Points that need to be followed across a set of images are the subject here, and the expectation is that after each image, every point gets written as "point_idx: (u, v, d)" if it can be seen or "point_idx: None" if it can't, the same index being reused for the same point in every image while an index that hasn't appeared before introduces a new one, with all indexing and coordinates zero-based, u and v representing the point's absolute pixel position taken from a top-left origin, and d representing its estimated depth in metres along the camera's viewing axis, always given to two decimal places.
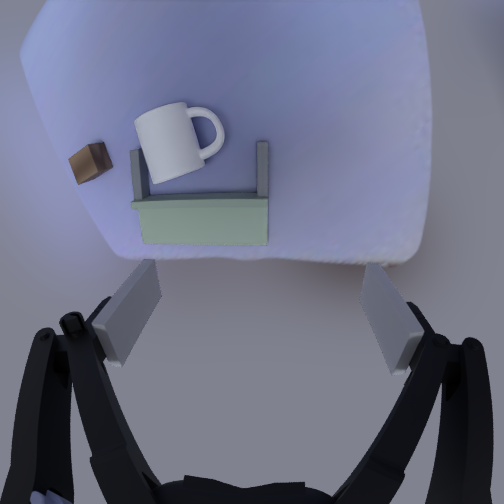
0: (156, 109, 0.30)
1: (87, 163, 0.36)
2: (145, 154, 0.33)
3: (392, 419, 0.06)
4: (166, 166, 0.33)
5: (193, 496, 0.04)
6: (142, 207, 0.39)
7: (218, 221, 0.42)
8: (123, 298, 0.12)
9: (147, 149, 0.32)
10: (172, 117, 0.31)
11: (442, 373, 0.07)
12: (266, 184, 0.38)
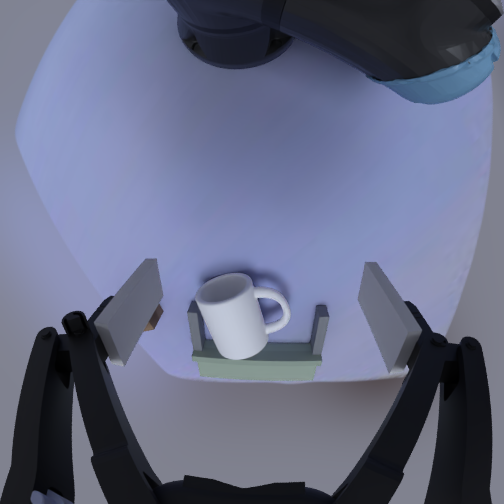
0: (226, 303, 0.32)
1: None
2: (212, 334, 0.36)
3: (390, 418, 0.06)
4: (238, 351, 0.35)
5: (193, 496, 0.04)
6: (204, 361, 0.41)
7: (273, 367, 0.44)
8: (125, 297, 0.12)
9: (216, 333, 0.35)
10: (243, 310, 0.34)
11: (440, 372, 0.08)
12: (321, 346, 0.41)
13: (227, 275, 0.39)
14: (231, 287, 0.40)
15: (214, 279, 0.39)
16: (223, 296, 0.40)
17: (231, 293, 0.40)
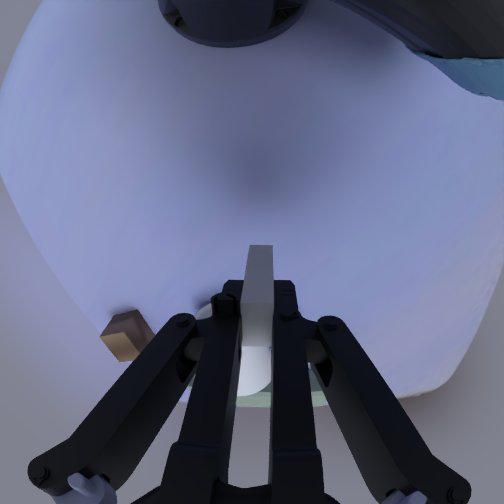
0: None
1: (128, 348, 0.32)
2: None
3: (273, 406, 0.07)
4: (240, 388, 0.29)
5: None
6: None
7: None
8: (258, 279, 0.14)
9: None
10: (245, 346, 0.27)
11: (304, 343, 0.10)
12: None
13: None
14: None
15: None
16: None
17: None
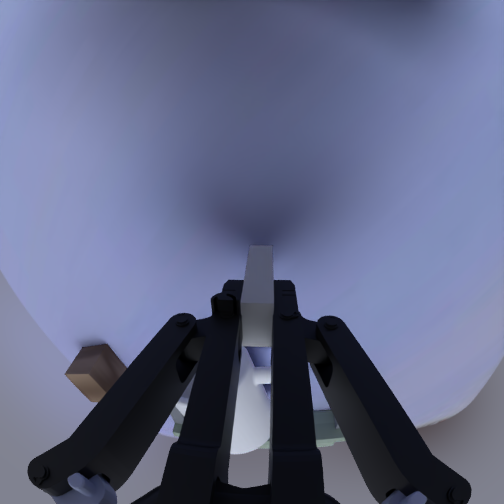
0: None
1: (97, 390, 0.23)
2: None
3: (273, 406, 0.07)
4: (231, 448, 0.20)
5: None
6: None
7: None
8: (258, 279, 0.14)
9: None
10: (235, 409, 0.18)
11: (304, 342, 0.10)
12: None
13: None
14: None
15: None
16: None
17: None
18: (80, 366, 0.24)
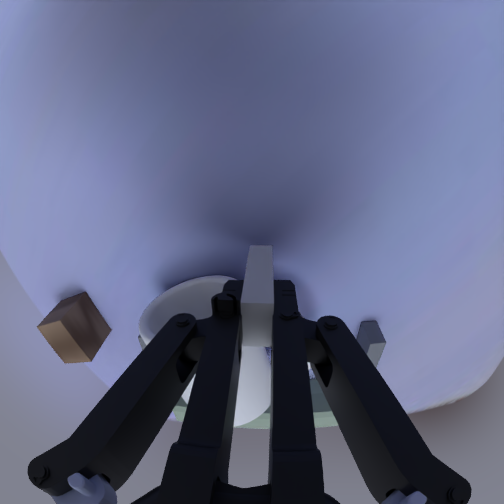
0: None
1: (69, 345, 0.20)
2: None
3: (273, 406, 0.07)
4: None
5: None
6: (176, 410, 0.23)
7: None
8: (258, 279, 0.14)
9: None
10: None
11: (304, 343, 0.10)
12: None
13: (202, 280, 0.21)
14: (210, 301, 0.21)
15: (179, 287, 0.21)
16: (197, 316, 0.22)
17: (211, 311, 0.22)
18: (54, 316, 0.20)
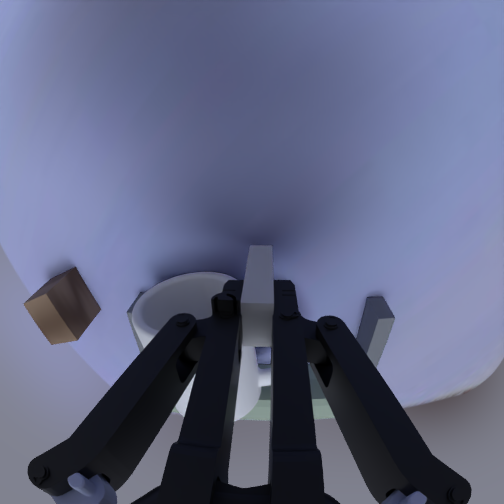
0: None
1: (55, 322, 0.19)
2: None
3: (273, 406, 0.07)
4: None
5: None
6: None
7: None
8: (258, 279, 0.14)
9: None
10: None
11: (304, 342, 0.10)
12: None
13: (200, 275, 0.21)
14: (205, 297, 0.21)
15: (175, 279, 0.20)
16: (189, 311, 0.22)
17: (204, 308, 0.22)
18: (41, 292, 0.19)
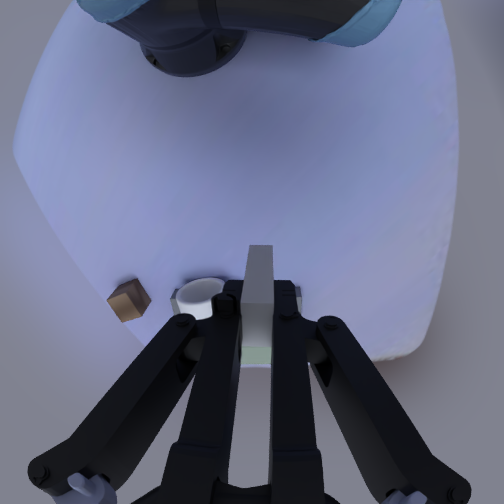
0: (201, 305, 0.37)
1: (129, 308, 0.42)
2: None
3: (273, 406, 0.07)
4: None
5: None
6: None
7: (256, 350, 0.47)
8: (258, 279, 0.14)
9: None
10: None
11: (304, 342, 0.10)
12: None
13: (206, 279, 0.44)
14: (208, 290, 0.44)
15: (194, 281, 0.43)
16: (201, 297, 0.45)
17: (208, 295, 0.45)
18: (118, 292, 0.42)
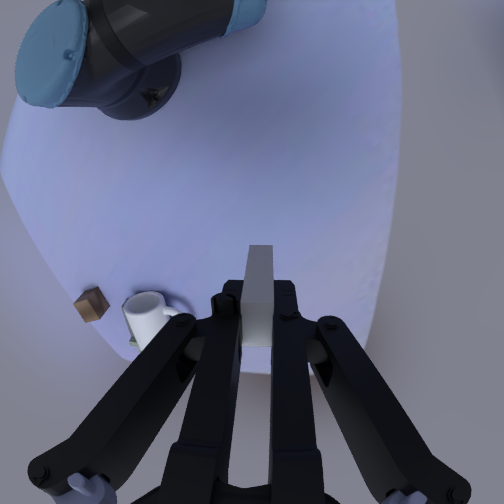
0: (140, 316, 0.43)
1: (90, 311, 0.47)
2: (133, 333, 0.46)
3: (273, 406, 0.07)
4: None
5: None
6: (138, 345, 0.50)
7: None
8: (258, 279, 0.14)
9: (135, 334, 0.45)
10: (152, 321, 0.44)
11: (304, 342, 0.10)
12: None
13: (150, 292, 0.49)
14: (153, 301, 0.50)
15: (141, 293, 0.49)
16: (147, 307, 0.50)
17: (153, 305, 0.50)
18: (82, 298, 0.47)
